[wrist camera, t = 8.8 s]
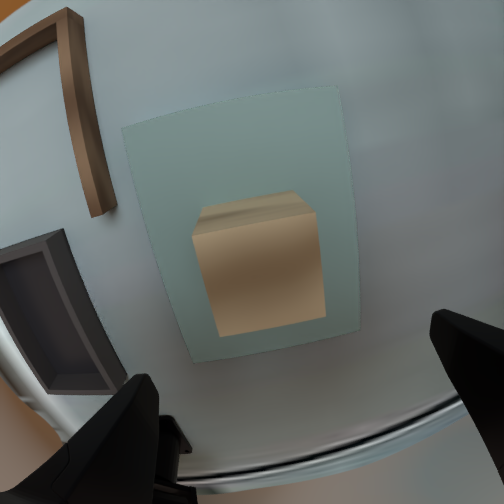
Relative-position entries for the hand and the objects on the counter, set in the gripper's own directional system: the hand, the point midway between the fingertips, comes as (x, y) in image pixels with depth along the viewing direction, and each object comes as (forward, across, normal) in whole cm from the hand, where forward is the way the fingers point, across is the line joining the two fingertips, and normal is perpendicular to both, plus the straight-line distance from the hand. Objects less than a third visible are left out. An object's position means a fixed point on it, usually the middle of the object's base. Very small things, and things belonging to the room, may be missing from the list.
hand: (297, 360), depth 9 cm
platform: (+12, 0, 0) cm, 12 cm away
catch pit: (+12, +18, +3) cm, 21 cm away
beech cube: (+10, 0, 0) cm, 10 cm away
